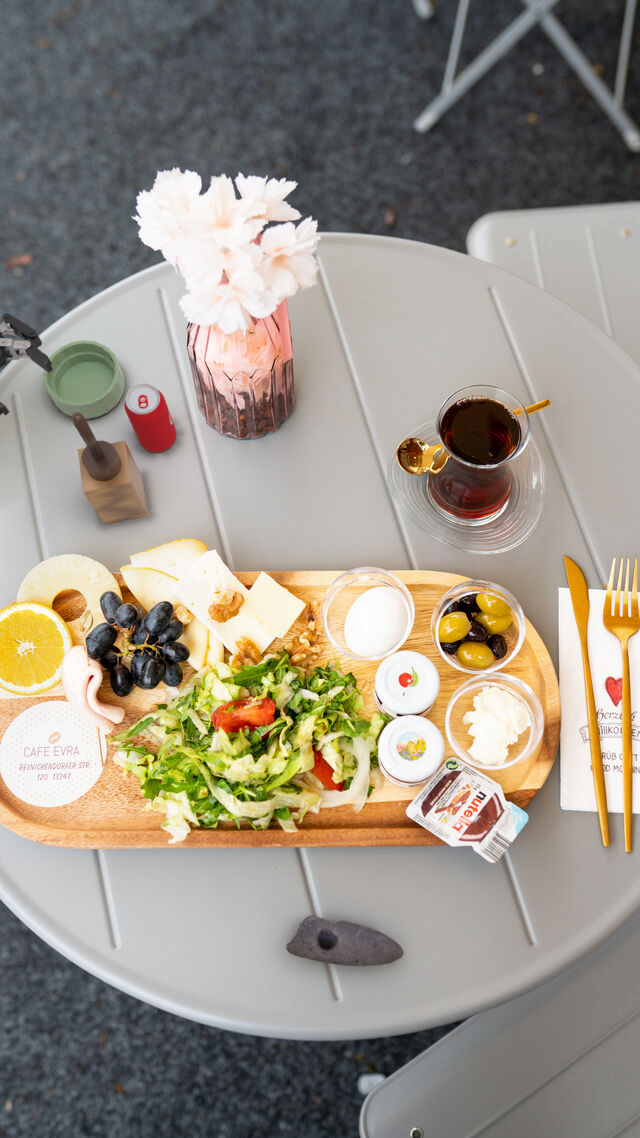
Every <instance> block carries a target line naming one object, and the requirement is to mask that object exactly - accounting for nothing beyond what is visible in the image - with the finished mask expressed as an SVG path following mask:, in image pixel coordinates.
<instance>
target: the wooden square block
mask: <svg viewBox="0 0 640 1138" xmlns="http://www.w3.org/2000/svg"><path fill="white" fill-rule="evenodd" d="M109 443H110V444H112V445H113V446H114V448H115V449H116V451H117V453H118V455H119V457H120V460H121V469H120V472H119V473H118V474H117V476H115V477H114V478H113V479H111V480H108V481H97V480H95V479H93V478H92V477H91V476H90V475H89V474H88V472H87V470H86V469H85V467H84V465H83V463H82V460H81V456H82V452H83V450H84V449H85V448H86V447H84V448H79V449H77V454H78V462H79V463H78V464H79V470H80V478H81V486H82V492H83V494H84V496H85V497H86V499H87V500H88V501H89V503H90V504H91V506H92V508H93V509H94V511H95V512H96V514H97V516H98V517H99V519H100V520H101V521H102V523H103V525H107V524H112V523H118V522H122V521H127V520H132V519H138V518H139V519H140V518H144V517H148V516H149V512H148V505H147V497H146V493H145V486H144V479H143V475H142V474H141V471H140V469H139V467H138V465H137V463H136V460H135V459H134V457H133V455H132V452H131V450H130V447H129V446H128V444H127V442H126V440H121V441H116V442H109Z"/></svg>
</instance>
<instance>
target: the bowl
mask: <svg viewBox="0 0 640 1138" xmlns="http://www.w3.org/2000/svg"><path fill="white" fill-rule="evenodd" d="M49 359H50V361H51V363H52V365H51V367H52V368H53V370H52V371H51V372H50V373H48V372H47V371H46V370H44V369H43V372H42V377H43V385H44V387H45V389H46V391H47V393H48V394H49V396H50V398H51V400H52V401H53V403H54V405H55V406H56V408H57V409H59V411H61V412H62V413H63V414H64V415H67V416H69V417H71V418H72V415H73V414H74V413H81V414H83V416H84V417H85V419H86V420H88V419H95V418H98V417H101V416H103V415H105V414H107V413H109V412H110V411H111V410H112V409H113V408H115V407H116V406H117V405H118V404H119V402H120V401H121V399H122V397H123V395H124V391H125V387H126V382H125V381H126V380H125V375H124V372H123V370H122V368H121V365H120V362H119V360H118V359H117V357H116V355H115V353H114V352H113V351H112V350H111V349H110V348H109V347H107V346H106V345H105V344H102V343H100V342H97V341H94V340H77V341H72V342H68V343H67V344H65V345H63V346H60V347H59V348H58V349H57V350H56V351H55V352H53V353H52V354H51V355H50V356H49Z"/></svg>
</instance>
